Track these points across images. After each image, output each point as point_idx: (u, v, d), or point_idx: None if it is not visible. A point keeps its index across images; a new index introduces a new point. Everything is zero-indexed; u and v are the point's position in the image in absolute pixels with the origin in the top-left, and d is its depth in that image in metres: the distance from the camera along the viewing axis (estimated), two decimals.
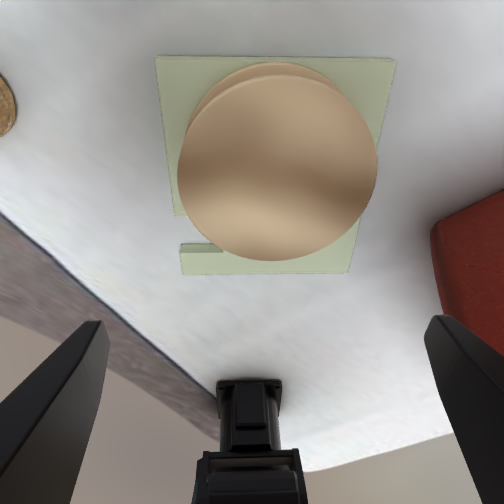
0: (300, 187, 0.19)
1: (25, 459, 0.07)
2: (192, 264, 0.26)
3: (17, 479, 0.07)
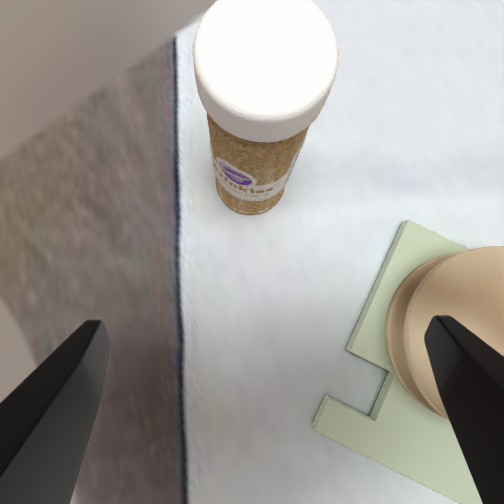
0: None
1: (25, 459, 0.07)
2: (333, 421, 0.22)
3: (17, 479, 0.07)
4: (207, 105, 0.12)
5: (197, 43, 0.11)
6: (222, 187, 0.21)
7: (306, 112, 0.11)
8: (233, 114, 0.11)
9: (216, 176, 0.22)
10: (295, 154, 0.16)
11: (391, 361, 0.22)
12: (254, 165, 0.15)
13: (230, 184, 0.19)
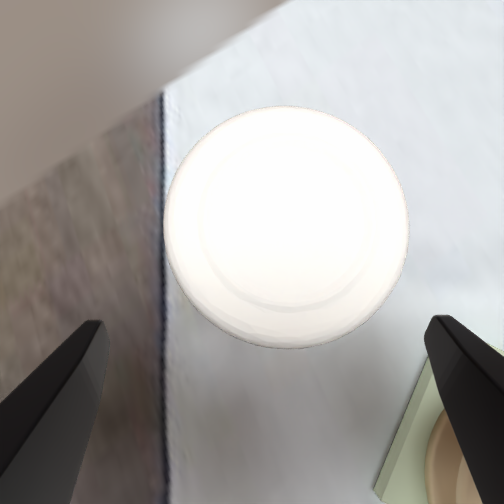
0: None
1: (25, 459, 0.07)
2: None
3: (17, 479, 0.07)
4: None
5: (170, 214, 0.07)
6: None
7: None
8: (230, 334, 0.07)
9: None
10: None
11: None
12: None
13: None
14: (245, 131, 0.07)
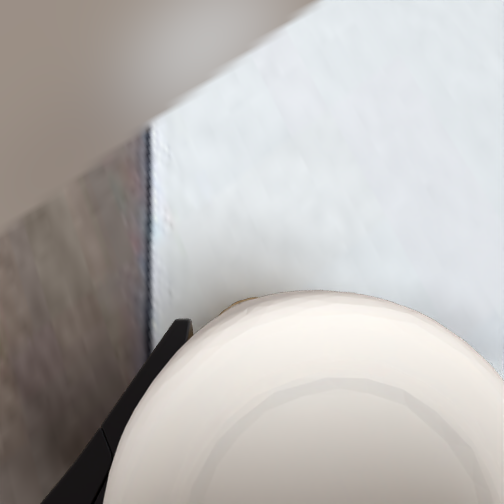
0: None
1: None
2: None
3: None
4: None
5: None
6: None
7: None
8: None
9: None
10: None
11: None
12: None
13: None
14: (256, 359, 0.04)
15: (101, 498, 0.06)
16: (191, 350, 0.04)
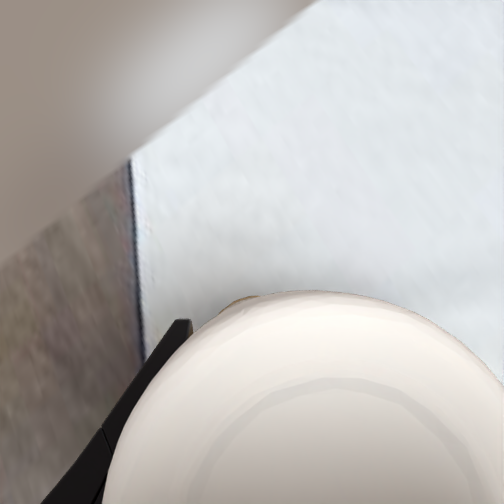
0: None
1: None
2: None
3: None
4: None
5: None
6: None
7: None
8: None
9: None
10: None
11: None
12: None
13: None
14: (253, 360, 0.04)
15: (101, 498, 0.06)
16: (188, 351, 0.04)
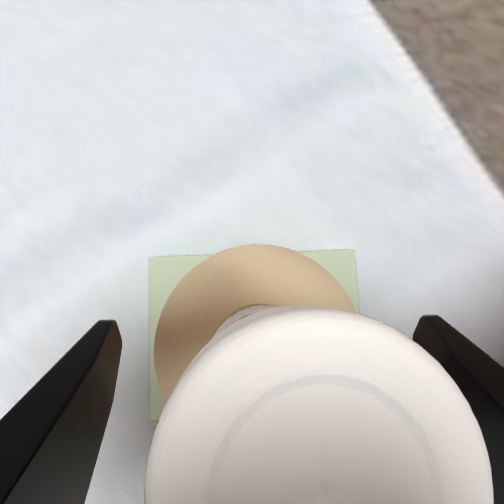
0: None
1: (44, 458, 0.07)
2: None
3: (36, 478, 0.07)
4: None
5: (153, 492, 0.05)
6: None
7: None
8: None
9: None
10: None
11: None
12: None
13: None
14: (259, 362, 0.05)
15: None
16: (210, 356, 0.05)
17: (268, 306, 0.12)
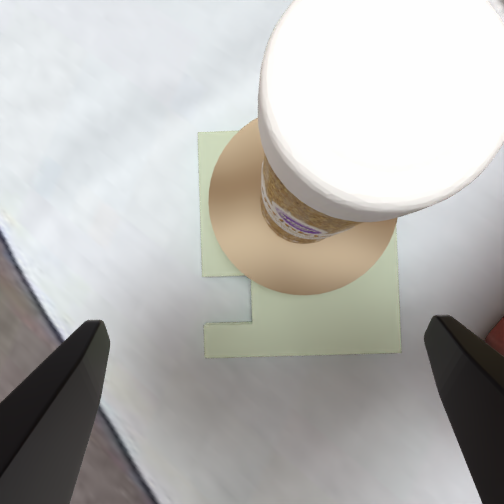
0: None
1: (25, 459, 0.07)
2: (216, 342, 0.23)
3: (17, 479, 0.07)
4: (280, 172, 0.07)
5: (269, 76, 0.06)
6: (272, 219, 0.17)
7: None
8: (329, 200, 0.07)
9: (263, 202, 0.18)
10: None
11: None
12: (332, 225, 0.11)
13: (286, 226, 0.15)
14: None
15: None
16: None
17: None
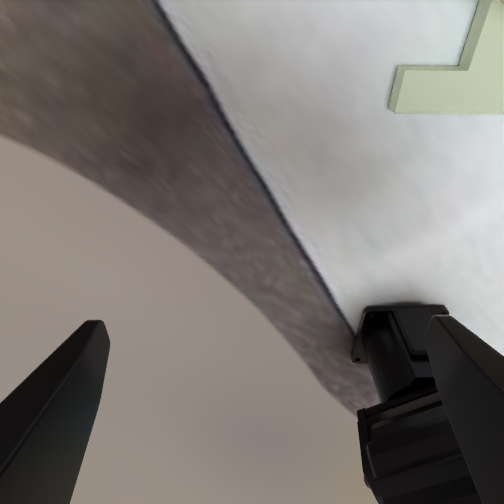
0: None
1: (25, 459, 0.07)
2: (415, 93, 0.18)
3: (17, 479, 0.07)
4: None
5: None
6: None
7: None
8: None
9: None
10: None
11: None
12: None
13: None
14: None
15: None
16: None
17: None
